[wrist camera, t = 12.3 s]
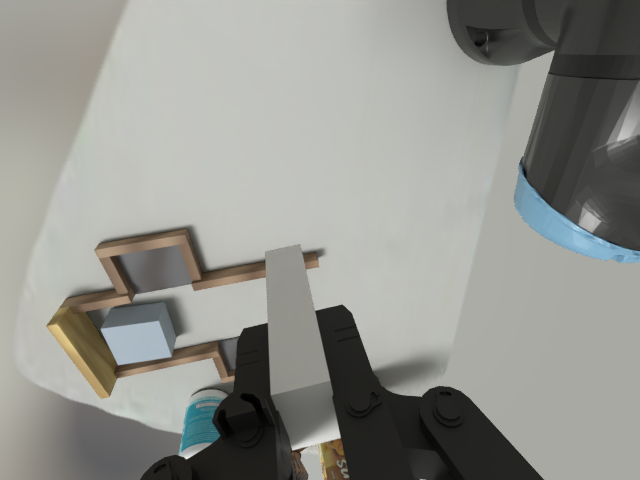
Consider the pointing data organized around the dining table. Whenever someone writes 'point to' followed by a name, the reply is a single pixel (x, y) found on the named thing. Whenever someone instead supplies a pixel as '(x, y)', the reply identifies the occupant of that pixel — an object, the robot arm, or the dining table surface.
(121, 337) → the slate block
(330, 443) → the candy box
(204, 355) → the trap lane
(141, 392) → the dining table surface
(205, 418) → the pill bottle
